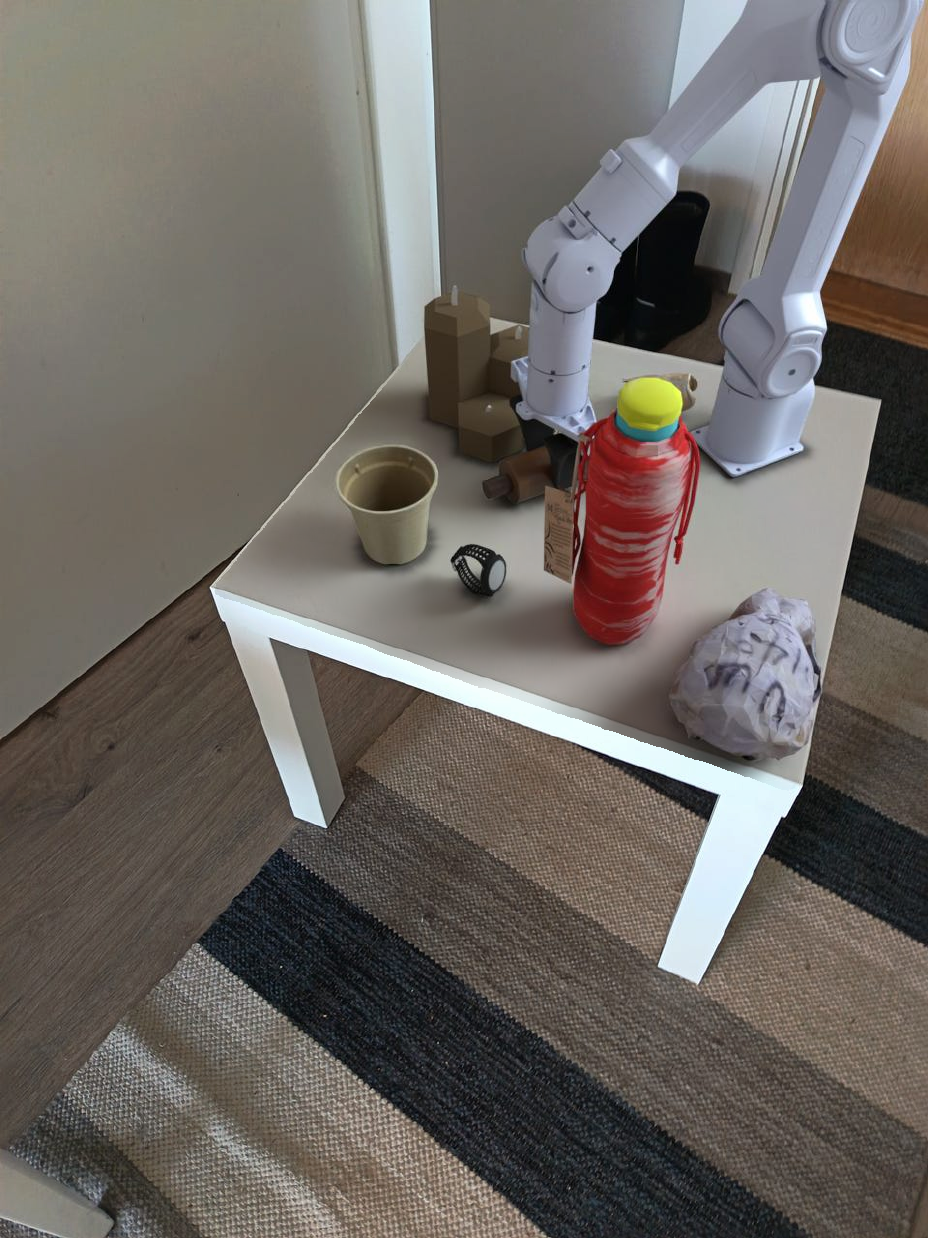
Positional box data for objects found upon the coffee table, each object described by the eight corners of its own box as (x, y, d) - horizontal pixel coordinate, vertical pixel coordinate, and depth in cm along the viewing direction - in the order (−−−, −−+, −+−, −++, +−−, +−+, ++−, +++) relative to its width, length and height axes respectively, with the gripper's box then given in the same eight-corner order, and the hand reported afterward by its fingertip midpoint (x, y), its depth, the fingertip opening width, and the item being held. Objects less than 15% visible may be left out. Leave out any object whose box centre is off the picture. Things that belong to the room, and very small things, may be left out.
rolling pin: (600, 448, 93) (604, 414, 90) (623, 473, 91) (629, 439, 87) (475, 493, 89) (475, 459, 86) (496, 521, 87) (496, 486, 83)
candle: (399, 431, 96) (386, 309, 84) (458, 367, 103) (454, 246, 92) (507, 468, 91) (510, 344, 80) (561, 398, 99) (571, 276, 87)
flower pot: (330, 564, 83) (316, 498, 77) (372, 501, 89) (362, 434, 82) (419, 589, 81) (412, 523, 74) (456, 523, 86) (453, 456, 80)
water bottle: (520, 635, 77) (529, 407, 58) (543, 572, 82) (559, 342, 63) (653, 668, 75) (710, 440, 55) (669, 601, 79) (727, 369, 60)
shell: (626, 423, 96) (620, 382, 94) (628, 415, 100) (623, 375, 98) (700, 411, 94) (695, 369, 92) (699, 402, 98) (695, 362, 96)
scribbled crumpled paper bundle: (744, 611, 80) (778, 529, 73) (863, 680, 75) (911, 599, 68) (626, 729, 70) (652, 647, 63) (754, 818, 65) (797, 739, 58)
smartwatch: (480, 613, 79) (479, 576, 75) (447, 580, 82) (445, 543, 78) (515, 592, 81) (516, 555, 77) (481, 560, 83) (481, 523, 79)
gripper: (483, 329, 81) (484, 443, 92) (562, 414, 73) (553, 528, 83) (548, 310, 83) (541, 423, 94) (632, 390, 75) (614, 504, 85)
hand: (551, 471), depth 89 cm, fingers closed on rolling pin, 4 cm apart
